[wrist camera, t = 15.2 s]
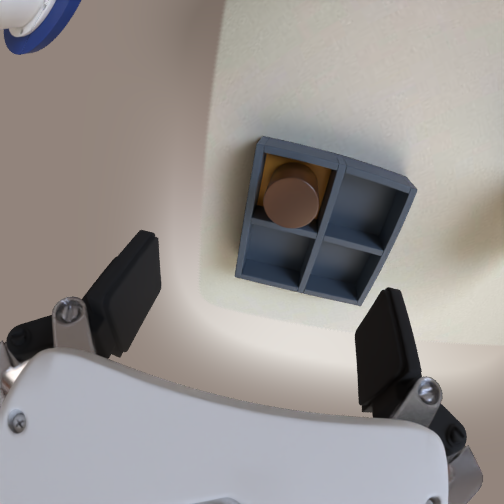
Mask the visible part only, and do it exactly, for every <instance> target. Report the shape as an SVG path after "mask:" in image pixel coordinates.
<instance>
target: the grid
mask: <svg viewBox="0 0 504 504" xmlns="http://www.w3.org/2000/svg"><path fill="white" fill-rule="evenodd" d="M289 162H297V163H301V164H304V165H306V166H307V167H309V168H310V169H311V170H312V171H313V172H314V174H315V176H316V178H317V181H318V193H319V210H318V213H317V215H316V217H315V218H314V219H313V220H312V221H311V222H310V223H309V224H307V225H305V226H303V227H300V228H293V229H292V228H285V227H281V226H279V225H277V224H276V223H274V222H273V221H272V220H271V219H270V218H269V217H268V215H267V214H266V212H265V209H264V205H263V198H264V194H265V192H266V189H267V186H268V184H269V181H270V179H271V176H272V174H273V172H274V171H275V170H276V169H277V168H278V167H279V166H281V165H283V164H285V163H289ZM416 192H417V189H416V187H415V186H414V185H413V184H412V183H411V182H410V180H409V179H408V178H407V177H405V176H403V175H400V174H397V173H394V172H392V171H389V170H386V169H383V168H380V167H377V166H374V165H371V164H368V163H365V162H362V161H359V160H356V159H352V158H349V157H346V156H342V155H339V154H335V153H332V152H328V151H324V150H321V149H317V148H313V147H309V146H305V145H301V144H297V143H293V142H288V141H284V140H279V139H275V138H270V137H265V136H263V137H262V138H261V139H260V140H259V142H258V143H257V144H256V150H255V156H254V161H253V167H252V173H251V179H250V185H249V191H248V197H247V203H246V209H245V215H244V221H243V227H242V233H241V239H240V246H239V252H238V258H237V264H236V271H235V277H237V278H241V279H245V280H249V281H253V282H257V283H262V284H266V285H270V286H274V287H278V288H282V289H287V290H291V291H295V292H300V293H304V294H308V295H313V296H317V297H322V298H326V299H331V300H335V301H340V302H344V303H349V304H353V305H358V306H361V305H362V303H363V302H364V300H365V298H366V296H367V294H368V293H369V291H370V289H371V287H372V285H373V284H374V282H375V280H376V278H377V276H378V274H379V272H380V271H381V269H382V267H383V265H384V263H385V261H386V259H387V257H388V255H389V253H390V251H391V249H392V247H393V245H394V243H395V240H396V238H397V236H398V234H399V232H400V230H401V228H402V225H403V223H404V221H405V219H406V216H407V214H408V212H409V209H410V207H411V205H412V202H413V200H414V197H415V195H416Z"/></svg>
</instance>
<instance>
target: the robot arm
mask: <svg viewBox="0 0 504 504" xmlns="http://www.w3.org/2000/svg"><path fill="white" fill-rule="evenodd" d="M55 2H56V0H0V30H1V29H8V28H9V31H10V33H11V34H12V35H13V36H15V37H22V36H26V35H29V34H30V33H32V32H33V31H34V30H35V29H36V28H38V26H39V25H40V24H41V23H42V22H43V21H44V19H45V18H46V17H47V15H48V14H49V12H50V11H51V9H52V7H53V5H54V4H55ZM160 290H161V275H160V260H159V244H158V238H157V237H155V234H154V233H152V232H148V231H144V230H140V231H139V232H138V233H137V235H135V237H134V238H133V239H132V240H131V242H129V244H128V245H127V246H126V247H125V248H124V250H123V251H122V252H121V253H120V254H119V255H118V256H117V257H115V258H114V259H113V260H112V262H111V263H110V264H109V265H108V266H107V268H106V269H105V270H104V272H103V273H102V274H101V275H100V276H99V278H98V279H97V280H96V282H95V283H94V284H93V285H92V287H91V288H90V289H89V291H88V292H87V293H86V295H85V296H84V297H83V299H80V298H78V297H67V298H64V299H62V300H61V301H59V302H58V303H57V304H56V305H55V306H54V308H53V311H52V315H50V316H47V317H43V318H40V319H37V320H34V321H30V322H27V323H24V324H20V325H18V326H16V327H14V328H13V329H12V330H11V331H10V333H9V334H8V337H7V342H5V343H4V342H3V341H1V342H0V504H467V503H468V501H470V499H471V498H472V497H473V496H474V495H475V494H476V493H477V491H478V490H479V489H480V487H481V486H482V482H483V475H482V472H481V470H480V467H479V466H478V464H477V461H476V459H475V457H474V455H473V453H472V451H471V449H470V448H469V446H465V443H466V438H467V436H466V431H465V428H464V427H463V425H462V424H461V423H460V422H459V421H458V420H457V419H456V418H455V417H454V416H453V415H452V414H451V413H450V412H449V411H448V410H447V409H446V408H445V407H444V406H443V405H442V404H441V401H442V390H441V387H440V385H439V384H438V383H437V382H436V380H434V379H433V378H431V377H422V375H421V372H422V371H421V367H420V362H419V357H418V353H417V349H416V344H415V340H414V336H413V332H412V328H411V324H410V321H409V317H408V314H407V310H406V307H405V303H404V300H403V297H402V293H401V291H400V290H398V289H393V288H389V287H388V288H386V289H385V290H382V291H381V292H380V294H379V295H378V297H377V299H376V300H375V302H374V304H373V305H372V307H371V308H370V310H369V312H368V313H367V315H366V316H365V318H364V319H363V321H362V322H361V324H360V325H359V327H358V328H357V330H356V333H355V345H356V358H357V373H358V396H359V404H360V405H362V412H372V413H373V418H368V417H353V416H340V415H330V414H320V413H312V412H304V411H297V410H290V409H284V408H278V407H272V406H266V405H261V404H256V403H251V402H247V401H242V400H237V399H233V398H229V397H225V396H220V395H217V394H212V393H209V392H205V391H201V390H198V389H194V388H191V387H187V386H184V385H181V384H177V383H174V382H171V381H168V380H165V379H162V378H159V377H156V376H153V375H150V374H147V373H145V372H142V371H138V370H136V369H133V368H131V367H128V366H125V365H122V364H120V363H117V362H115V361H112V360H110V359H108V358H109V357H110V355H111V354H112V355H115V356H117V357H121V355H122V353H123V352H127V351H128V349H129V347H130V345H131V343H132V341H133V340H134V338H135V336H136V334H137V332H138V330H139V328H140V326H141V325H142V323H143V321H144V319H145V317H146V316H147V314H148V312H149V310H150V308H151V307H152V305H153V303H154V301H155V299H156V298H157V296H158V294H159V292H160Z"/></svg>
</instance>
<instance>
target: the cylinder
mask: <svg viewBox="0 0 504 504" xmlns="http://www.w3.org/2000/svg"><path fill="white" fill-rule="evenodd" d="M263 205H264V209H265V212H266V214H267V215H268V217H269V218H270V219H271V220H272V221H273V222H274V223H276V224H277V225H279V226H281V227H285V228H292V229H293V228H300V227H303V226H305V225H307V224H309V223H310V222H311V221H312V220H313V219H314V218H315V217H316V215H317V213H318V210H319V193H318V181H317V178H316V176H315V174H314V172H313V171H312V170H311V169H310V168H309V167H307V166H306V165H304V164H301V163H297V162H289V163H285V164H283V165H281V166H279V167H278V168H277V169H276V170H275V171H274V172H273V174H272V176H271V179H270V181H269V184H268V186H267V189H266V192H265V194H264V198H263Z"/></svg>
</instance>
